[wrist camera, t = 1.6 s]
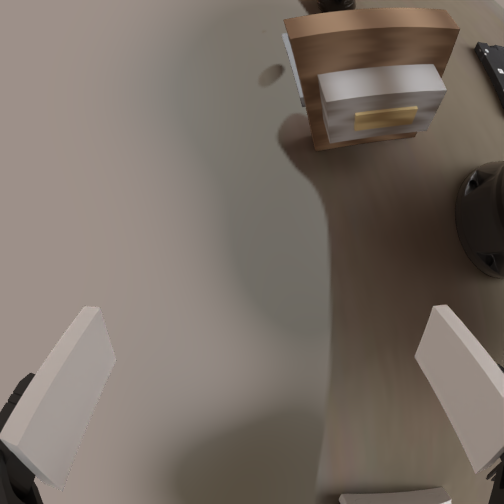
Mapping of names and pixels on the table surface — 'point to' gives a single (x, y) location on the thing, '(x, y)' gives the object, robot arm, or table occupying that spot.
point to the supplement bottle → (336, 5)
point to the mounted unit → (371, 71)
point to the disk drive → (493, 65)
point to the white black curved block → (399, 497)
